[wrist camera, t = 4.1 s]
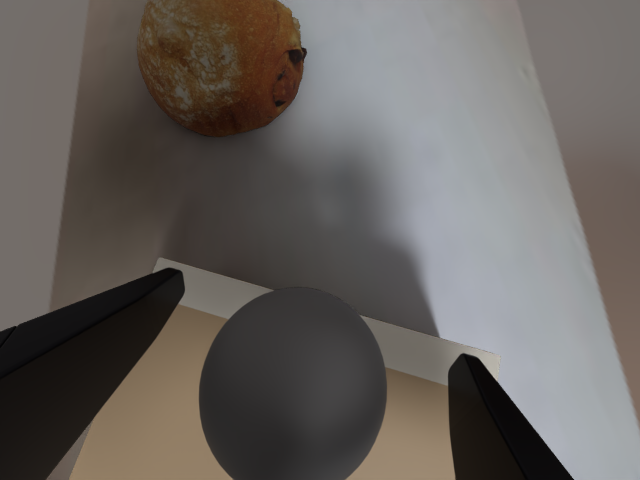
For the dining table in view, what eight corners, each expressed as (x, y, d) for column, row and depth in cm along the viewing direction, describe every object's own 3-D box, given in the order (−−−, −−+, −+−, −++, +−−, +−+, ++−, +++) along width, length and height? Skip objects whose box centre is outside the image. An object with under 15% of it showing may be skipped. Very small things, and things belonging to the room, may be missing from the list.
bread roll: (217, 65, 24) (120, -30, 17) (319, 12, 20) (242, -146, 13) (206, 166, 22) (90, 104, 15) (317, 132, 18) (224, 21, 11)
